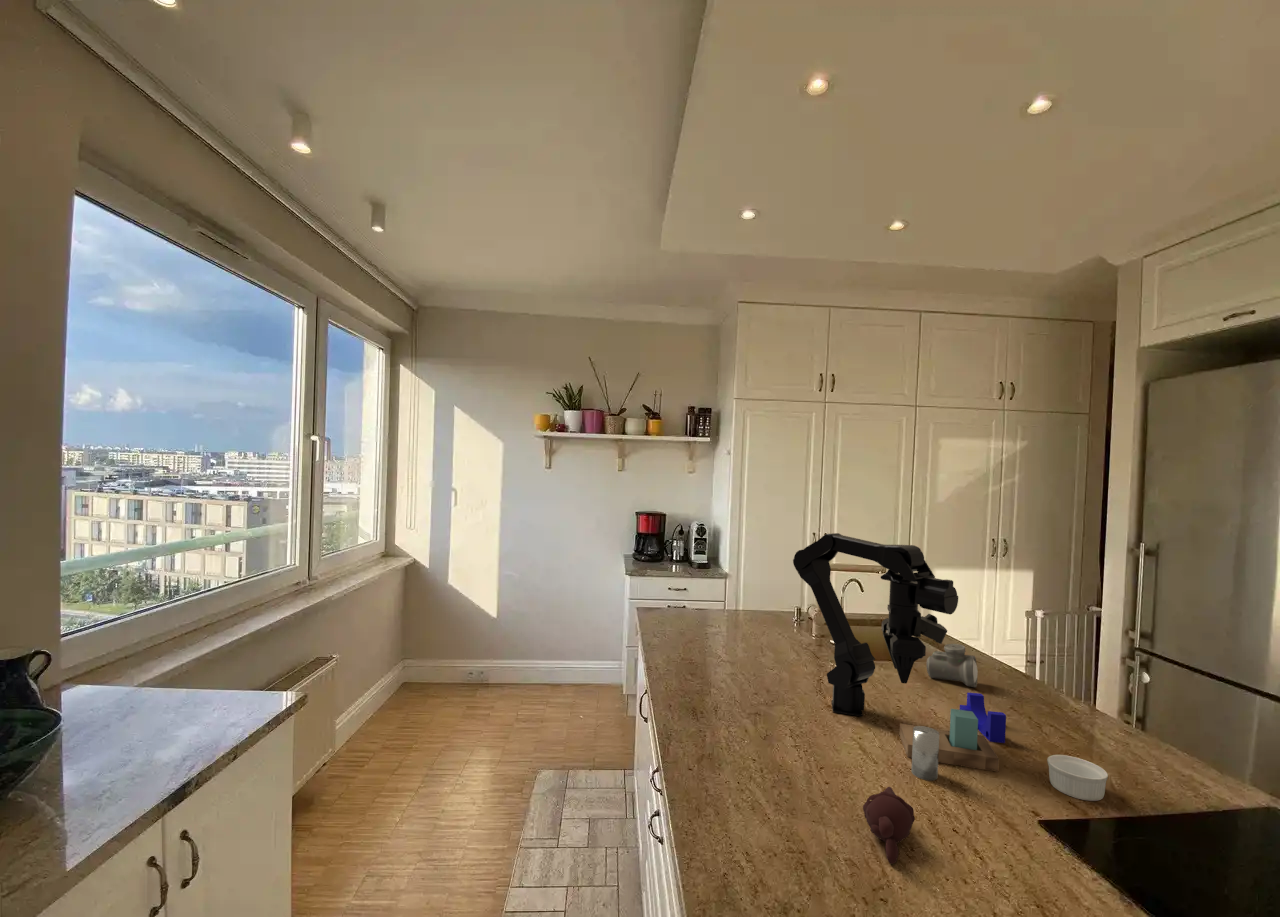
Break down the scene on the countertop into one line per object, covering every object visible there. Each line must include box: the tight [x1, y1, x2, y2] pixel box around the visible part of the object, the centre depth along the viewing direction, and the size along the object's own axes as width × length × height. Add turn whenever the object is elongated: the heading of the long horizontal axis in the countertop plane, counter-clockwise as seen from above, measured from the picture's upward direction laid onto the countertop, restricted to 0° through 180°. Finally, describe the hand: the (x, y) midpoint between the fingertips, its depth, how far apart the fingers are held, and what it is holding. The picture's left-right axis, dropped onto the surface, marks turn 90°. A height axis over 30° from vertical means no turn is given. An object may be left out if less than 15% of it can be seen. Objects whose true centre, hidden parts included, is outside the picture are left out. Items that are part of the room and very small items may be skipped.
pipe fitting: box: [926, 643, 979, 688], centre depth 162 cm, size 12×8×10 cm
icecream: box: [862, 786, 916, 865], centre depth 92 cm, size 7×7×15 cm
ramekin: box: [1046, 754, 1109, 802], centre depth 108 cm, size 9×9×4 cm
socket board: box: [898, 723, 1000, 772], centre depth 120 cm, size 16×10×2 cm, turn 75°
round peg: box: [910, 725, 939, 782], centre depth 111 cm, size 4×4×8 cm
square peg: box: [949, 708, 979, 750], centre depth 119 cm, size 4×4×8 cm
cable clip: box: [959, 692, 1007, 744], centre depth 132 cm, size 12×4×6 cm, turn 173°
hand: (900, 675), depth 129 cm, fingers open, 9 cm apart
